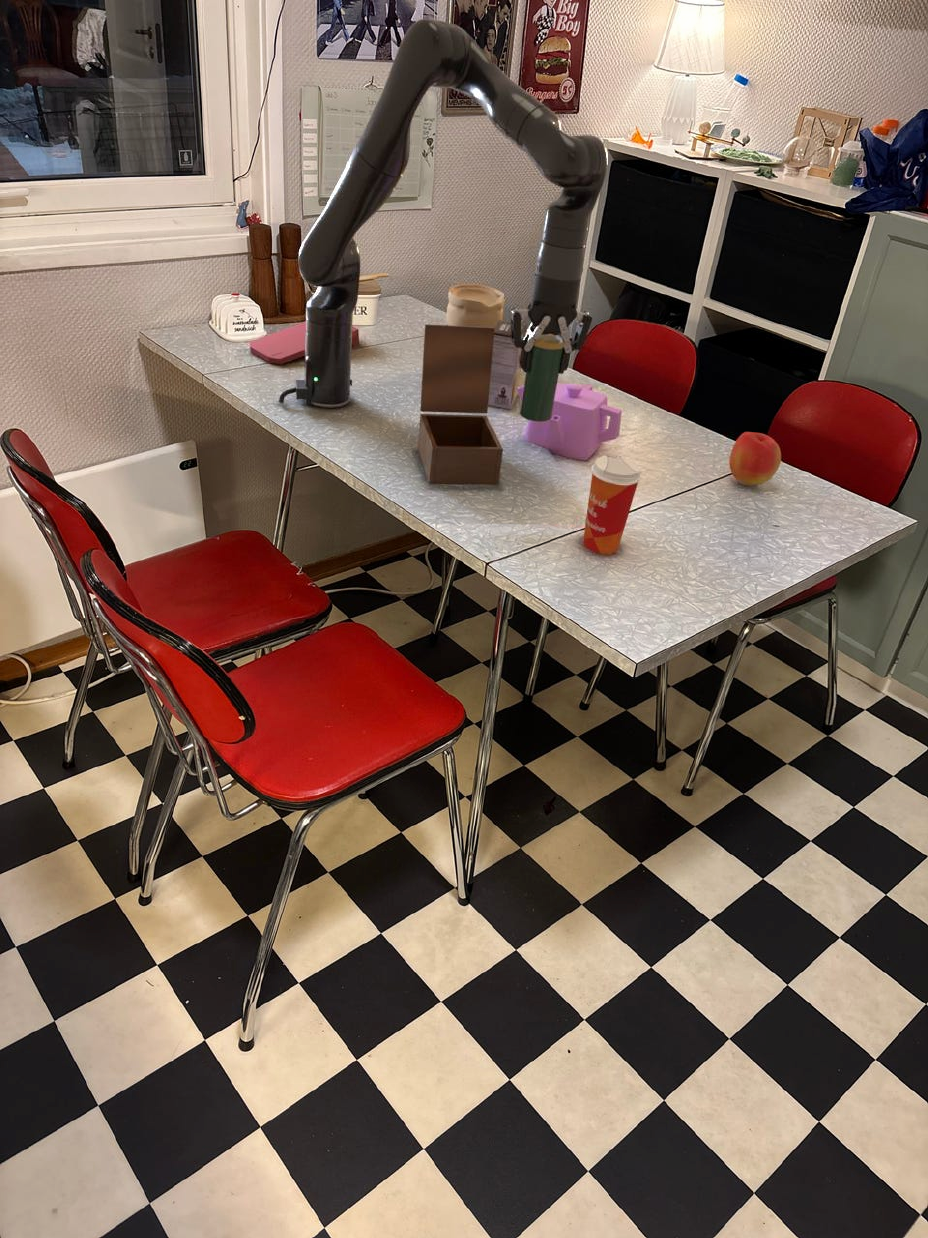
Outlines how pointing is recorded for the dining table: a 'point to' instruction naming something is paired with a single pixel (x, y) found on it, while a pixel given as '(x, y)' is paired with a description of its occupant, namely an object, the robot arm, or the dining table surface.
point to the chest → (459, 449)
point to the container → (474, 306)
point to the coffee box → (504, 366)
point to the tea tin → (542, 378)
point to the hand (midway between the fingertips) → (542, 371)
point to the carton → (287, 344)
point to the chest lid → (456, 368)
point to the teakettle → (575, 422)
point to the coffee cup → (609, 502)
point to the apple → (754, 458)
